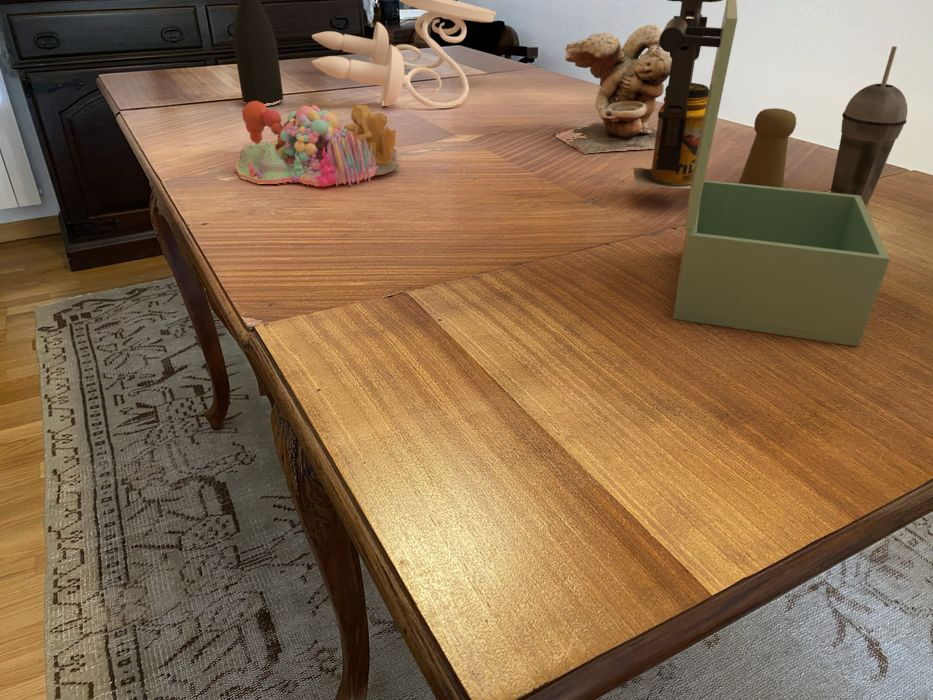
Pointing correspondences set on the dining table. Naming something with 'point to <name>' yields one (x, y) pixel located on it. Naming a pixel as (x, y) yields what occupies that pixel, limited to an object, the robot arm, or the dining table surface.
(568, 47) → the cherub figurine
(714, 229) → the bin
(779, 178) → the brown knobbed peg
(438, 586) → the dining table surface
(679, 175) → the condiment
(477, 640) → the dining table surface
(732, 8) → the bin lid
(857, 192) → the beverage cup
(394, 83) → the candelabra
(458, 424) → the dining table surface
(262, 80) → the wine bottle
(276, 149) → the pastel sphere sculpture
